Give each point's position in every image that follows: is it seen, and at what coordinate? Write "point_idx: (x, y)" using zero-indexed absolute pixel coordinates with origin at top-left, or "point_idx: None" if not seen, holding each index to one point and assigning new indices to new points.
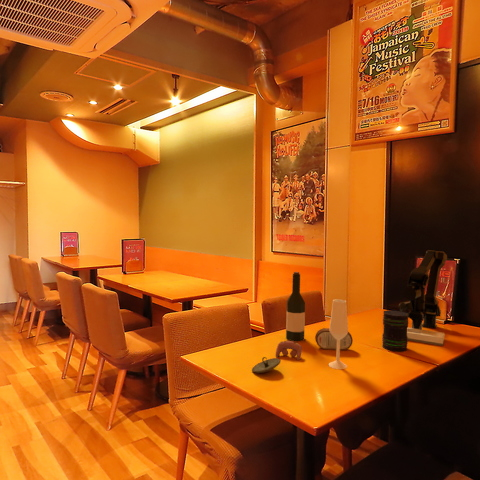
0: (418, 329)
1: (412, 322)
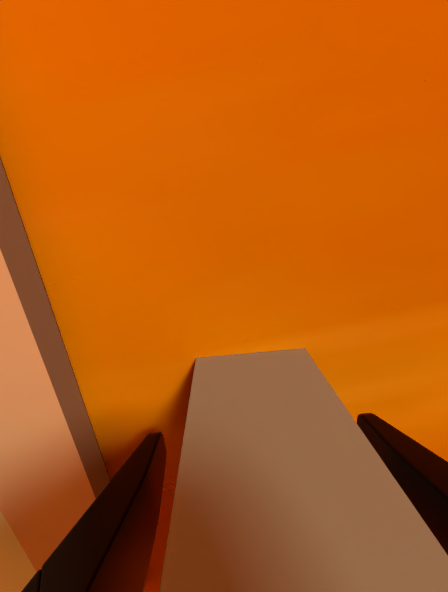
0: (8, 562)
1: (169, 558)
